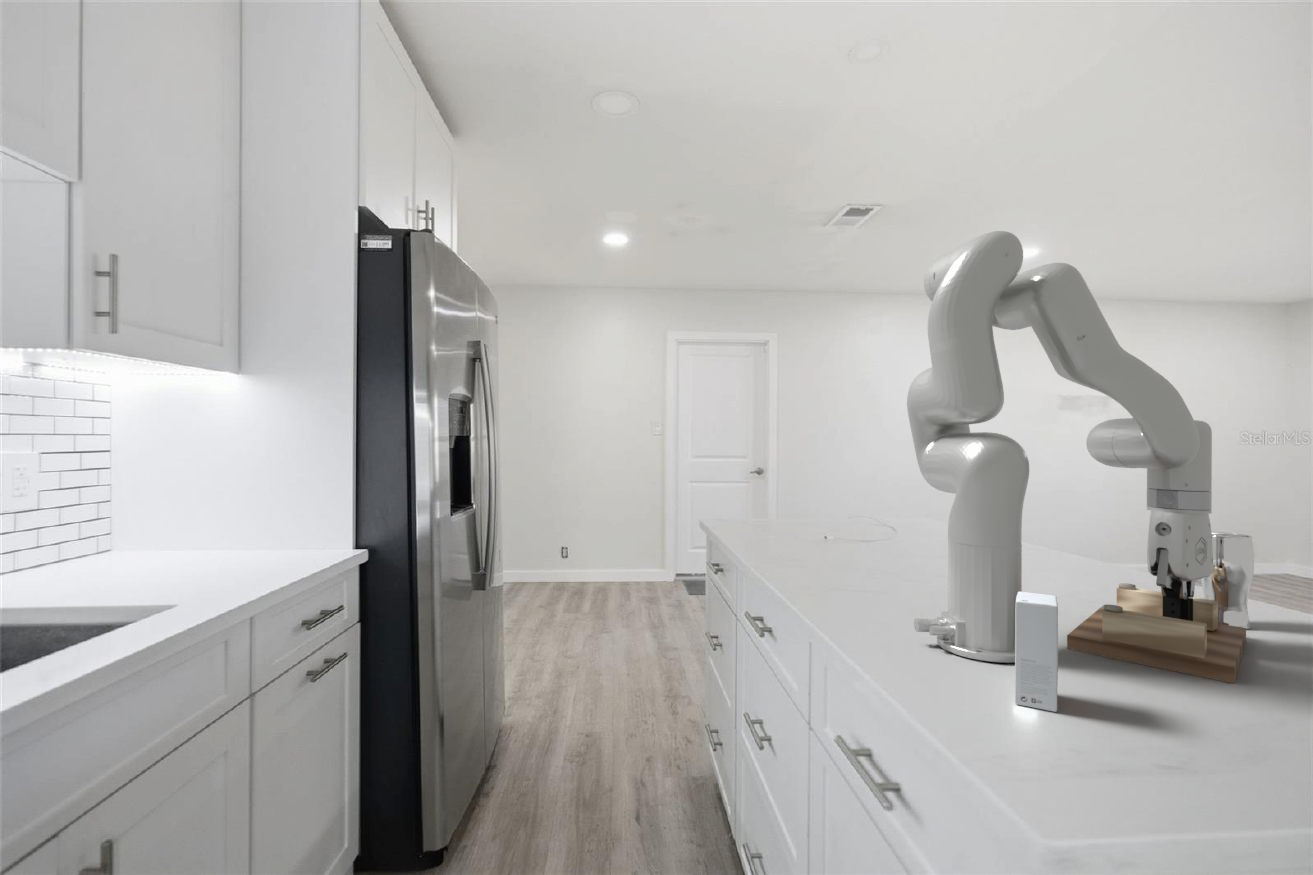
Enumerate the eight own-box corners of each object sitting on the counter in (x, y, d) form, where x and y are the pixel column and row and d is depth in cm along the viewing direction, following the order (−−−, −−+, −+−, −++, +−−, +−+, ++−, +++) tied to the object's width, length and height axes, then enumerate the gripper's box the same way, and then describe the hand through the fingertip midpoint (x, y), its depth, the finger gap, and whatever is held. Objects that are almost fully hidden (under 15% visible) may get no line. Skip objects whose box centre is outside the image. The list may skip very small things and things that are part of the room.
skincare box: (1058, 713, 69) (1058, 606, 69) (1014, 705, 72) (1014, 601, 72) (1057, 695, 74) (1057, 594, 75) (1016, 687, 77) (1016, 590, 77)
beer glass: (1265, 632, 99) (1265, 538, 100) (1215, 629, 101) (1215, 536, 101) (1234, 619, 106) (1234, 532, 106) (1188, 617, 108) (1187, 530, 108)
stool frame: (1234, 683, 78) (1234, 630, 78) (1067, 648, 91) (1067, 603, 91) (1246, 641, 95) (1245, 597, 95) (1103, 617, 108) (1103, 578, 108)
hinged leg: (1115, 612, 102) (1115, 584, 102) (1122, 609, 104) (1122, 582, 104) (1212, 630, 92) (1212, 599, 92) (1218, 627, 94) (1218, 596, 94)
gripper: (1186, 506, 87) (1185, 637, 87) (1231, 502, 94) (1230, 623, 94) (1125, 501, 94) (1124, 623, 93) (1171, 498, 101) (1170, 611, 101)
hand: (1177, 623), depth 94 cm, fingers closed
